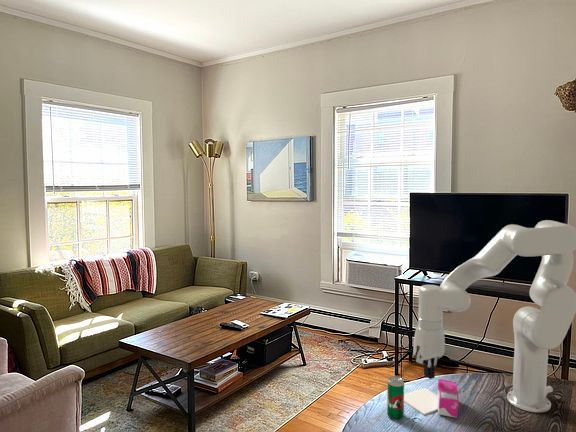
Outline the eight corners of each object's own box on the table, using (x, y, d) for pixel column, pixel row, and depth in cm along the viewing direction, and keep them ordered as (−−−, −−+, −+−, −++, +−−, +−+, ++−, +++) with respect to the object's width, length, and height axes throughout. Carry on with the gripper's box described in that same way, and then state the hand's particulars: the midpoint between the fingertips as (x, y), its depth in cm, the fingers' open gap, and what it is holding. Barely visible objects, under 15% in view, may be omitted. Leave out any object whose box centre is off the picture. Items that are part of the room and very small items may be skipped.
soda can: (406, 415, 138) (407, 379, 137) (398, 422, 135) (398, 385, 133) (392, 409, 142) (393, 374, 140) (384, 416, 138) (384, 379, 137)
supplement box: (455, 397, 147) (456, 419, 136) (436, 393, 149) (436, 414, 138) (457, 382, 146) (459, 402, 135) (438, 378, 148) (439, 398, 137)
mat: (424, 389, 154) (424, 387, 154) (451, 405, 144) (451, 403, 144) (397, 397, 149) (397, 396, 149) (423, 415, 138) (424, 413, 138)
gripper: (438, 315, 151) (437, 367, 153) (404, 323, 144) (403, 377, 146) (455, 322, 144) (454, 376, 147) (421, 331, 138) (420, 387, 140)
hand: (429, 376), depth 146 cm, fingers closed
